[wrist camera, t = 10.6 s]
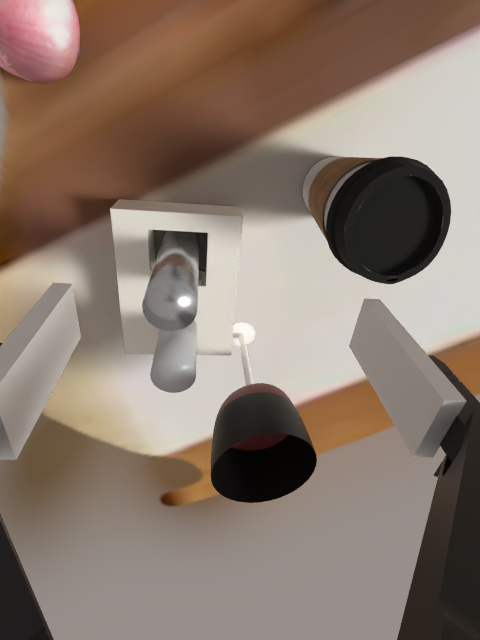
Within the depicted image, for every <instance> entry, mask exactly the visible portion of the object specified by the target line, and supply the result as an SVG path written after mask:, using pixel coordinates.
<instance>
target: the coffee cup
mask: <svg viewBox="0 0 480 640" xmlns="http://www.w3.org/2000/svg"><path fill="white" fill-rule="evenodd" d="M302 193H303V199H304V202H305V204H306V206H307V208H308V209H309V211H310V212H311V214H312V216H313V217H314V219H315V221H316V223H317V224H318V226H319V228H320V229H321V231H322V233H323V234H324V236H325V238H326V239H327V241H328V244H329V247H330V249H331V251H332V253H333V255H334V256H335V257H336V259H337V260H338V261H339V262H340V263H341V264H343V266H345V267H346V268H347V269H349V270H350V271H352V272H354V273H356V274H359V275H361V276H363V277H365V278H367V279H369V280H372V281H375V282H379V283H385V284H394V283H397V282H400V281H403V280H405V279H407V278H410V277H411V276H413V275H415V274H417V273H419V272H420V271H422V270H423V269H424V268H425V267H427V266H428V265H429V264H430V263H431V262H432V260H433V259H434V258H435V257H436V255H437V254H438V252H439V250H440V249H441V247H442V245H443V243H444V240H445V238H446V235H447V232H448V228H449V224H450V216H451V205H450V198H449V195H448V191H447V189H446V187H445V185H444V183H443V181H442V180H441V179H440V178H439V177H438V176H437V175H436V174H435V173H434V172H433V171H432V170H431V169H430V168H429V167H428V166H427V165H425V164H423V163H421V162H420V161H418V160H414V159H410V158H405V157H387V158H353V157H328V158H325V159H323V160H321V161H319V162H318V163H316V164H315V165H314V166H313V167H312V168H311V169H310V171H309V172H308V173H307V175H306V177H305V180H304V183H303V190H302Z"/></svg>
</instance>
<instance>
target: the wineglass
mask: <svg viewBox="0 0 480 640" xmlns="http://www.w3.org/2000/svg"><path fill="white" fill-rule="evenodd" d="M254 337H255V331H254V328H253V327H252V326H251V325H249V324H247V323H237V324H234V327H233V339H232V344H234V345H236V346H240V350H241V356H242V363H243V369H244V376H245V382H246V386H244V387H242V388H240V389H238V390H236V391H235V392H233V393H232V394H231V395H230V396H229V397H228V398H227V399H226V400H225V401H224V403H223V404H222V406H221V408H220V410H219V412H218V415H217V418H216V421H215V426H214V433H213V441H212V452H211V481H212V484H213V486H214V488H215V489H216V490H217V491H218V492H219V493H220V494H221V495H223V496H224V497H226V498H229V499H231V500H235V501H239V502H248V503H254V502H264V501H269V500H273V499H277V498H280V497H282V496H285V495H287V494H289V493H291V492H293V491H295V490H296V489H297V488H299V487H300V486H302V485H303V484H304V483H305V482H306V481H307V480H308V479H309V478H310V476H311V475H312V473H313V472H314V469H315V466H316V461H317V459H316V453H315V450H314V448H313V445H312V442H311V439H310V437H309V435H308V432H307V430H306V428H305V425H304V423H303V421H302V419H301V417H300V415H299V413H298V412H297V410H296V408H295V407H294V405H293V404H292V402H291V401H290V399H289V398H288V396H287V395H286V394H285V393H284V392H283V391H282V390H280V389H279V388H277V387H275V386H273V385H270V384H264V383H257V384H253V380H252V375H251V369H250V364H249V358H248V353H247V347H246V345H248V344H249V343H251V342H252V341H253V339H254Z"/></svg>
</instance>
